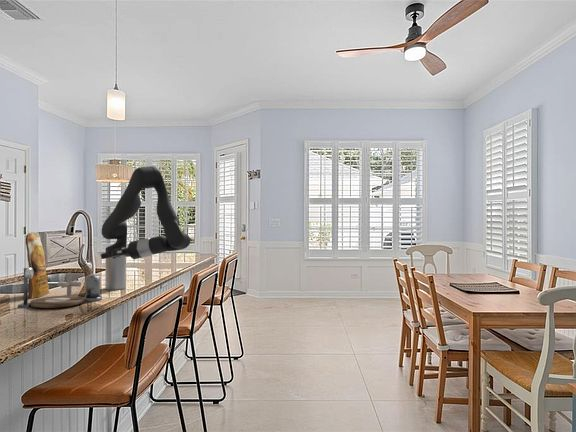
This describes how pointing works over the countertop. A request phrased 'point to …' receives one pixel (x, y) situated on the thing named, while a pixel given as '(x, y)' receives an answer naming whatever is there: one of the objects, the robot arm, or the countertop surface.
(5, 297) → the countertop surface
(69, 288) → the pipe connector
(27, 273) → the dial stand
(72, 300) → the disc
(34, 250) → the pancake mix bag
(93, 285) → the grey canister
